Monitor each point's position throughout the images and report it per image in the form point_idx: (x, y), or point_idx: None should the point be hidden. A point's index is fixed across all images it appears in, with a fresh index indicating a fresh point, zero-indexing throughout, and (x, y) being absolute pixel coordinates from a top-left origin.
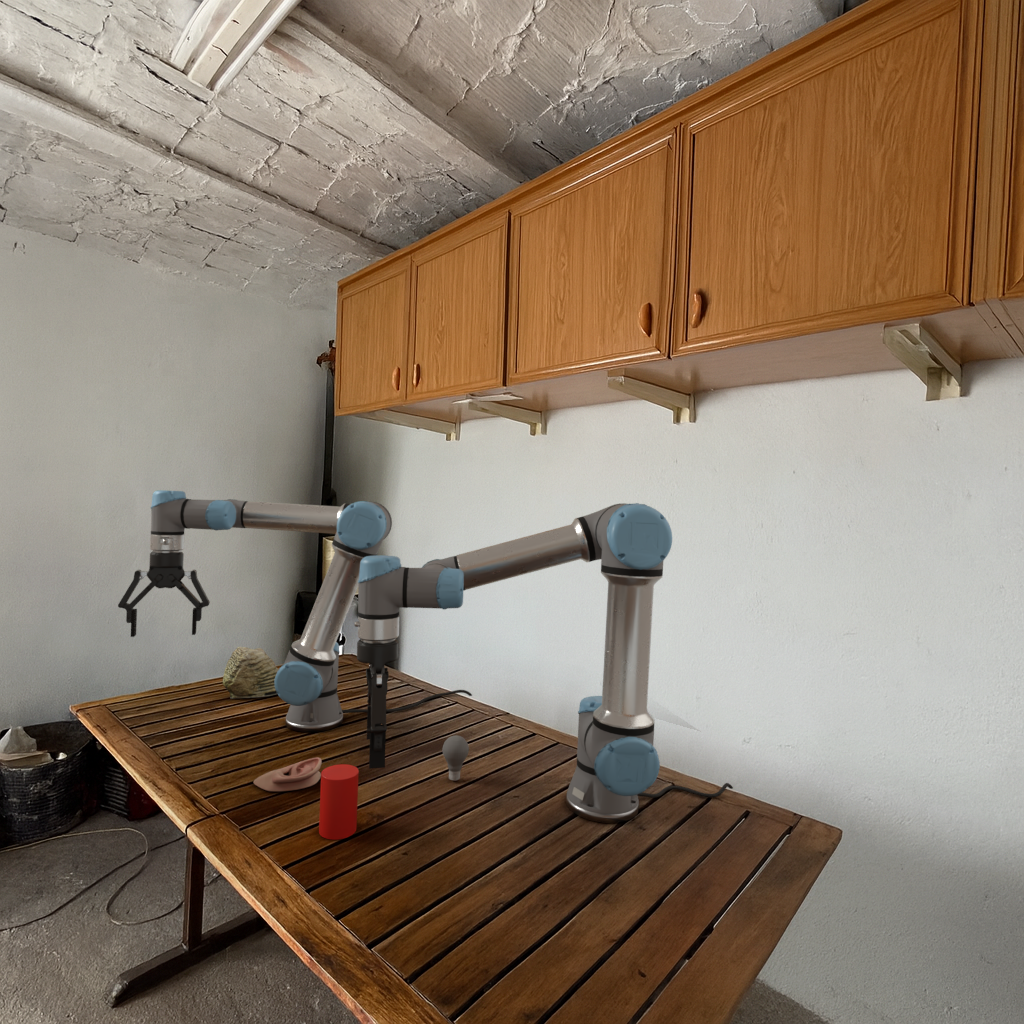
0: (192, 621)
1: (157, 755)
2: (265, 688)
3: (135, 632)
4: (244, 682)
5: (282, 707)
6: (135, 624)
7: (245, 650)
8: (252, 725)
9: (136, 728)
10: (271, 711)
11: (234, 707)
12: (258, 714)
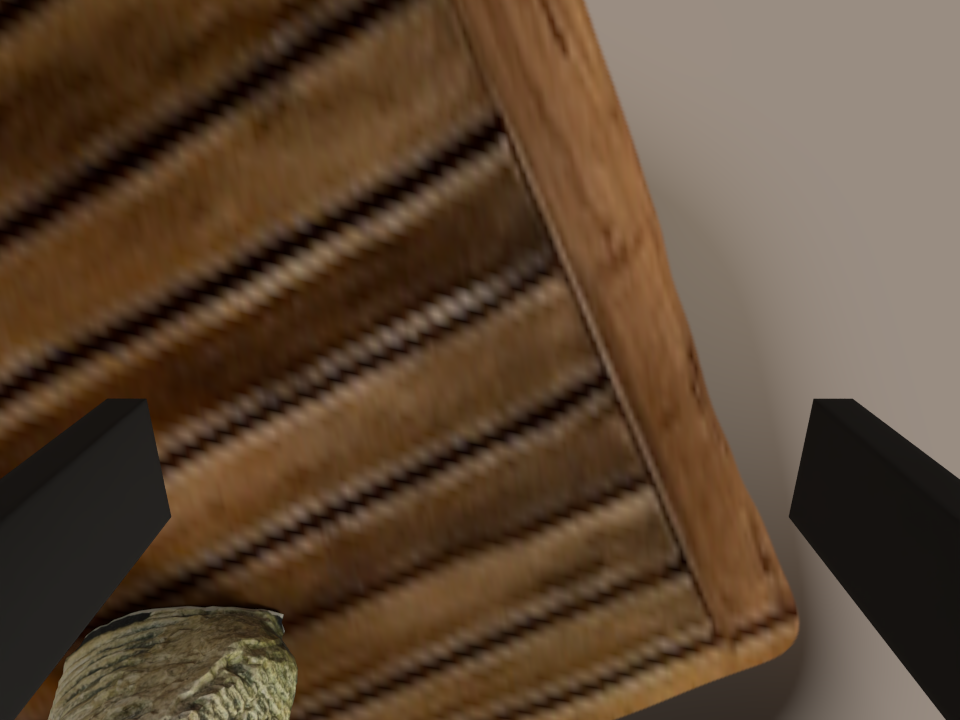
0: (21, 498)
1: (463, 16)
2: (133, 635)
3: (814, 497)
4: (196, 646)
5: None
6: (884, 550)
7: None
8: (130, 295)
9: (585, 371)
10: None
11: (249, 521)
12: None
